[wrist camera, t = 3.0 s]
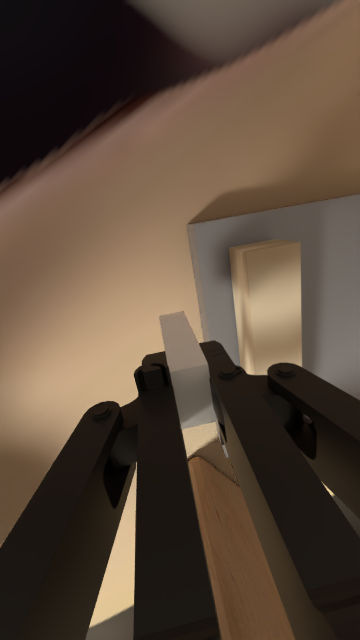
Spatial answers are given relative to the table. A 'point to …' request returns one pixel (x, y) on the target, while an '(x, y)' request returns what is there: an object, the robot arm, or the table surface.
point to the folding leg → (267, 303)
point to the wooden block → (236, 560)
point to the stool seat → (316, 281)
